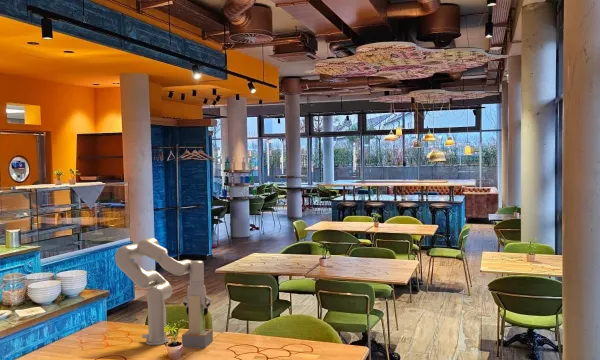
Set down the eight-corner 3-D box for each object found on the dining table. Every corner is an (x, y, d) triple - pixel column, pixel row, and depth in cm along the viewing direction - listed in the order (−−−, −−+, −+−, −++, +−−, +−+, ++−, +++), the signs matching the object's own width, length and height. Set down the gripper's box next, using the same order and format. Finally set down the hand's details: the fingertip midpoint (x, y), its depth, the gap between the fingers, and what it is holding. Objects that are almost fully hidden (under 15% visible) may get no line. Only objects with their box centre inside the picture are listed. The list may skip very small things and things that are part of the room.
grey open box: (182, 347, 278) (182, 334, 278) (190, 340, 290) (190, 328, 290) (205, 347, 276) (205, 335, 276) (212, 341, 288) (212, 329, 288)
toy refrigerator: (201, 335, 278) (200, 296, 279) (188, 335, 280) (188, 296, 280) (206, 331, 286) (206, 293, 287) (194, 331, 287) (193, 293, 288)
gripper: (179, 284, 281) (179, 315, 281) (209, 285, 278) (209, 316, 278) (184, 281, 289) (184, 312, 288) (214, 282, 286) (214, 313, 285)
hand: (197, 314), depth 283 cm, fingers open, 9 cm apart
